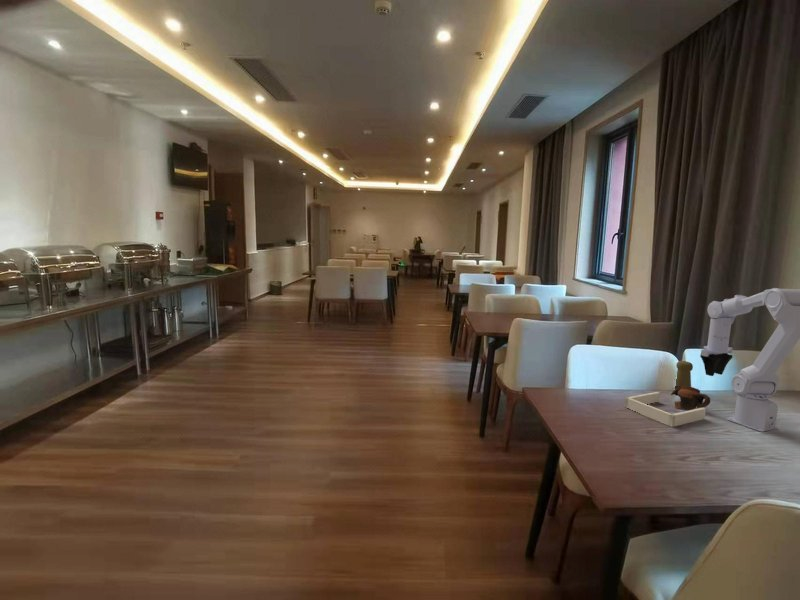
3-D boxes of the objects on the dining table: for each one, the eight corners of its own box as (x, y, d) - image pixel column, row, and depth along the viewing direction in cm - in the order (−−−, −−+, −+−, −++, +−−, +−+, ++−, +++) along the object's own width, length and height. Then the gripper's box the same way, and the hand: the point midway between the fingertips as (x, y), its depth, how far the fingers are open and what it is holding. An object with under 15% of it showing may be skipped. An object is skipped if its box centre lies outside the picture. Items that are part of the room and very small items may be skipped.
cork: (675, 391, 158) (678, 362, 157) (670, 385, 164) (673, 358, 162) (693, 393, 156) (697, 364, 155) (687, 387, 162) (691, 360, 161)
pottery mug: (664, 406, 143) (666, 383, 146) (678, 414, 147) (680, 392, 150) (703, 410, 133) (705, 385, 136) (718, 418, 137) (719, 394, 140)
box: (704, 419, 132) (705, 408, 132) (671, 426, 126) (673, 415, 125) (656, 401, 147) (657, 391, 146) (624, 407, 140) (625, 397, 140)
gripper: (718, 332, 150) (714, 369, 152) (693, 335, 144) (688, 373, 146) (741, 336, 143) (736, 374, 145) (715, 339, 137) (710, 379, 139)
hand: (713, 374), depth 145 cm, fingers open, 4 cm apart
